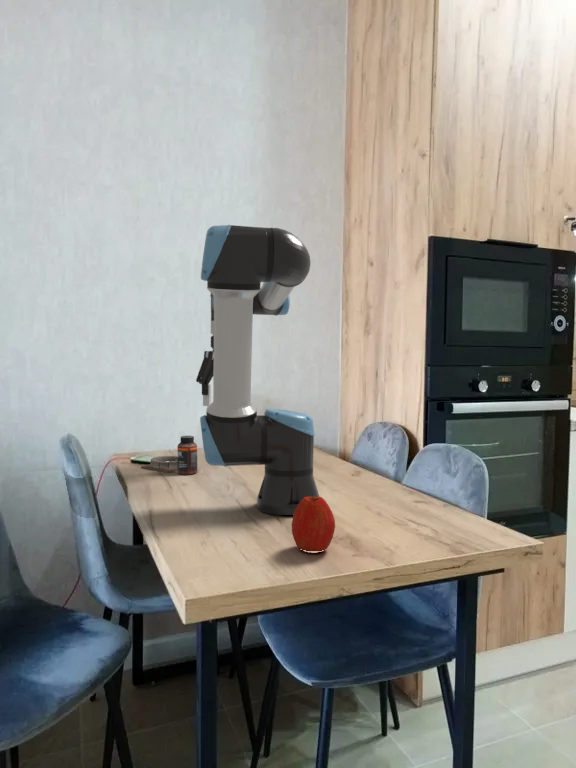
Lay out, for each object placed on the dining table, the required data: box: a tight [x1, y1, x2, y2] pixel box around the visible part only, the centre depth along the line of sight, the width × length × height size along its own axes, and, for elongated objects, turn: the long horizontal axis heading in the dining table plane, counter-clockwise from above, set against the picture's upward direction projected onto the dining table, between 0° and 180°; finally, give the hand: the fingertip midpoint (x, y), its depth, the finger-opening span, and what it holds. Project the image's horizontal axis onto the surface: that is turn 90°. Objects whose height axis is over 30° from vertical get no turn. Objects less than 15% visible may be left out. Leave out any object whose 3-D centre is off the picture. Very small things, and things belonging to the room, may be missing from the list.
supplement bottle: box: [177, 435, 198, 476], centre depth 165 cm, size 6×6×11 cm
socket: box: [140, 455, 178, 474], centre depth 174 cm, size 12×12×3 cm
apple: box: [291, 495, 336, 551], centre depth 102 cm, size 8×8×11 cm
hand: (222, 404), depth 168 cm, fingers open, 13 cm apart
